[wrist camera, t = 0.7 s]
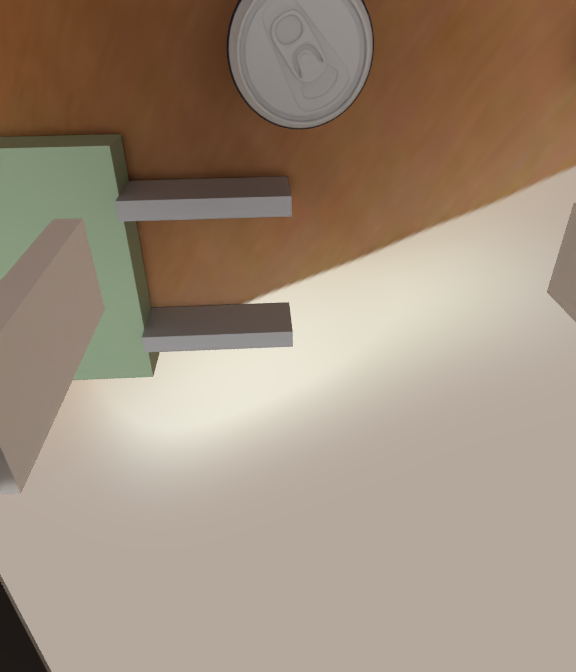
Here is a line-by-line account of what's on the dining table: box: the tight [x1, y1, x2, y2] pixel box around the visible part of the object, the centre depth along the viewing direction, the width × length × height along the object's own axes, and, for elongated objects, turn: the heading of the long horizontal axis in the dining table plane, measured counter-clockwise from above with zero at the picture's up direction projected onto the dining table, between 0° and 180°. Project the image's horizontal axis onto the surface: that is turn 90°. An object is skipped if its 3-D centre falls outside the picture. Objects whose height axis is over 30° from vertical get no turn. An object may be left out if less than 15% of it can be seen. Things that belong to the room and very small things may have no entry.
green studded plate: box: [0, 134, 293, 380], centre depth 34 cm, size 16×22×4 cm
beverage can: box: [227, 0, 374, 129], centre depth 24 cm, size 6×6×12 cm
